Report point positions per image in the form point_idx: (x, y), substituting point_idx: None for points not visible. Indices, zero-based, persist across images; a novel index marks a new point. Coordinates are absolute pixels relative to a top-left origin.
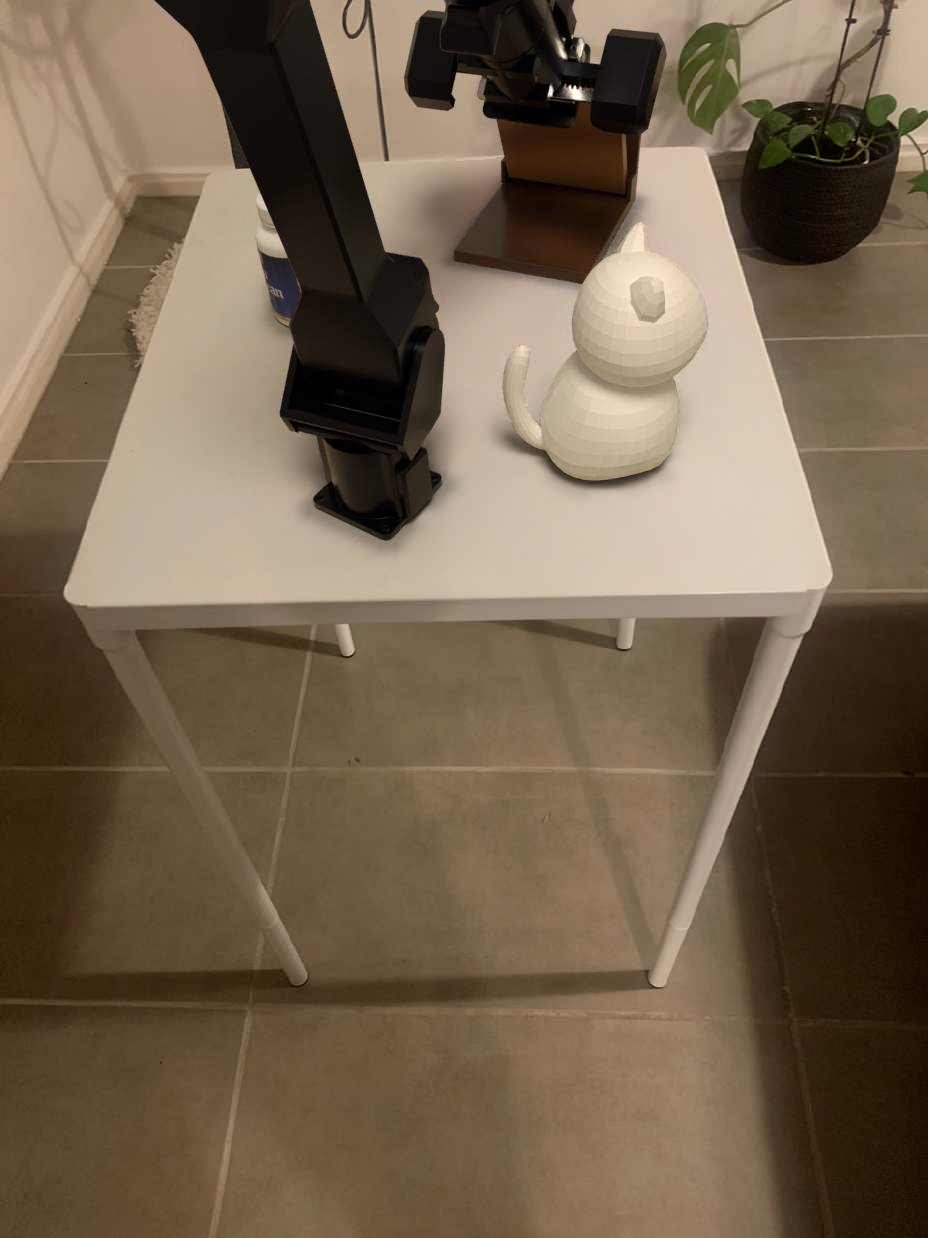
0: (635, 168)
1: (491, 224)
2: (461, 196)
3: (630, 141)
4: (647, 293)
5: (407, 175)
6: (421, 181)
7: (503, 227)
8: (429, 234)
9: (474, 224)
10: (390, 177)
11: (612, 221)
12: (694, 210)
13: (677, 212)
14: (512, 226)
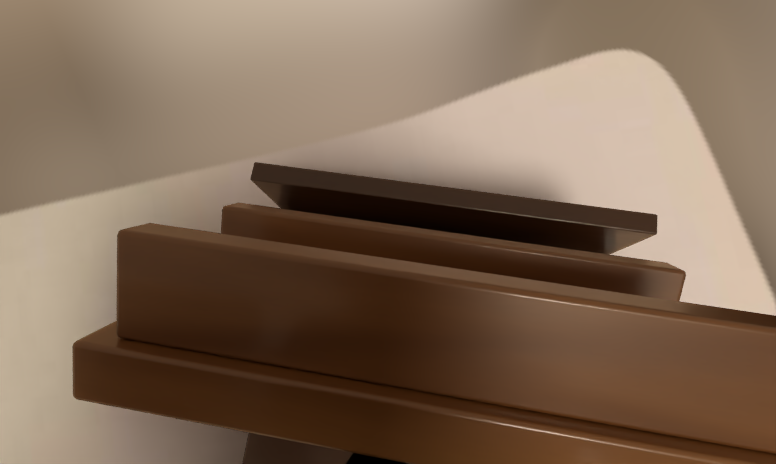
0: (610, 252)
1: (288, 450)
2: None
3: (619, 234)
4: None
5: (84, 218)
6: (115, 238)
7: (318, 461)
8: (158, 456)
9: (249, 454)
10: (49, 231)
11: None
12: (721, 278)
13: (685, 291)
14: (339, 454)
